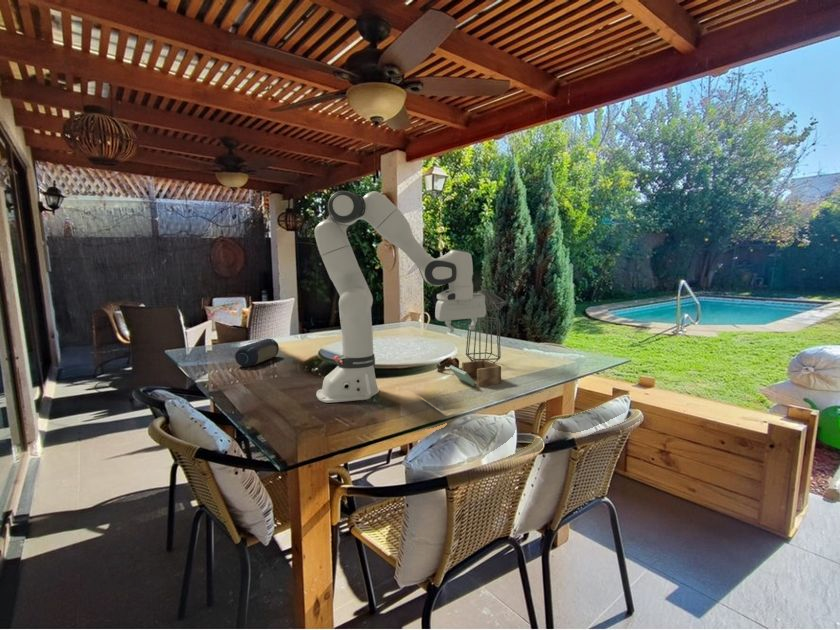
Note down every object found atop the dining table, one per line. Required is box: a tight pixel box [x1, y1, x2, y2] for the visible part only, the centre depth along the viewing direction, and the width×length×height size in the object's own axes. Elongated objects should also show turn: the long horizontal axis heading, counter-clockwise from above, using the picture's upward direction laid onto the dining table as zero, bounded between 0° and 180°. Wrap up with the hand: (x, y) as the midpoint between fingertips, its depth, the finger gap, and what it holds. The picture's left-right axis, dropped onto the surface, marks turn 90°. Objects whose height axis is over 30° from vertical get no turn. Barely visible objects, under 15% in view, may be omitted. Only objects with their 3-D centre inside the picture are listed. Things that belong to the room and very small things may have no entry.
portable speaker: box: [234, 338, 279, 368], centre depth 206 cm, size 25×10×10 cm, turn 166°
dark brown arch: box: [436, 356, 461, 373], centre depth 182 cm, size 12×10×8 cm
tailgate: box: [449, 365, 477, 388], centre depth 162 cm, size 1×12×7 cm
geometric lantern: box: [465, 288, 508, 364], centre depth 191 cm, size 16×16×35 cm
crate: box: [461, 360, 502, 388], centre depth 165 cm, size 10×12×8 cm
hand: (461, 330), depth 160 cm, fingers open, 8 cm apart
